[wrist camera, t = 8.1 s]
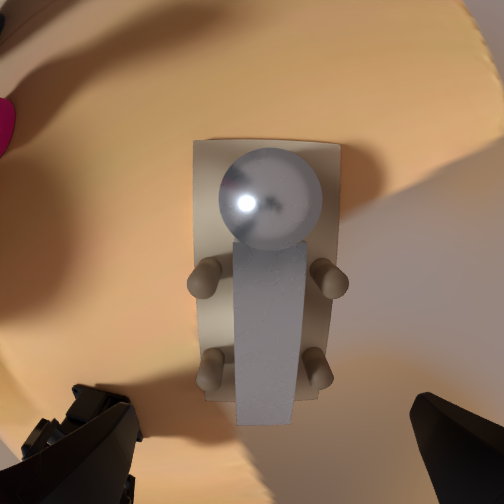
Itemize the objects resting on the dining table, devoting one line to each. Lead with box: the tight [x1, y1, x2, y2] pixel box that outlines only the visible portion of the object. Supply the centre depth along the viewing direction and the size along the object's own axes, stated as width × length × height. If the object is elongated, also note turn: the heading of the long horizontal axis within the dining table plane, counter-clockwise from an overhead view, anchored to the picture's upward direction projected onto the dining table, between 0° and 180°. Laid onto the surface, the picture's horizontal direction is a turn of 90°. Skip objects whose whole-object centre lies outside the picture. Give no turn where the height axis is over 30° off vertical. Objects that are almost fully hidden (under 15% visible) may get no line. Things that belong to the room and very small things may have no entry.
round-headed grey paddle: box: [218, 147, 322, 426], centre depth 16 cm, size 16×5×4 cm, turn 0°
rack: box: [187, 139, 349, 402], centre depth 17 cm, size 19×9×4 cm, turn 0°
